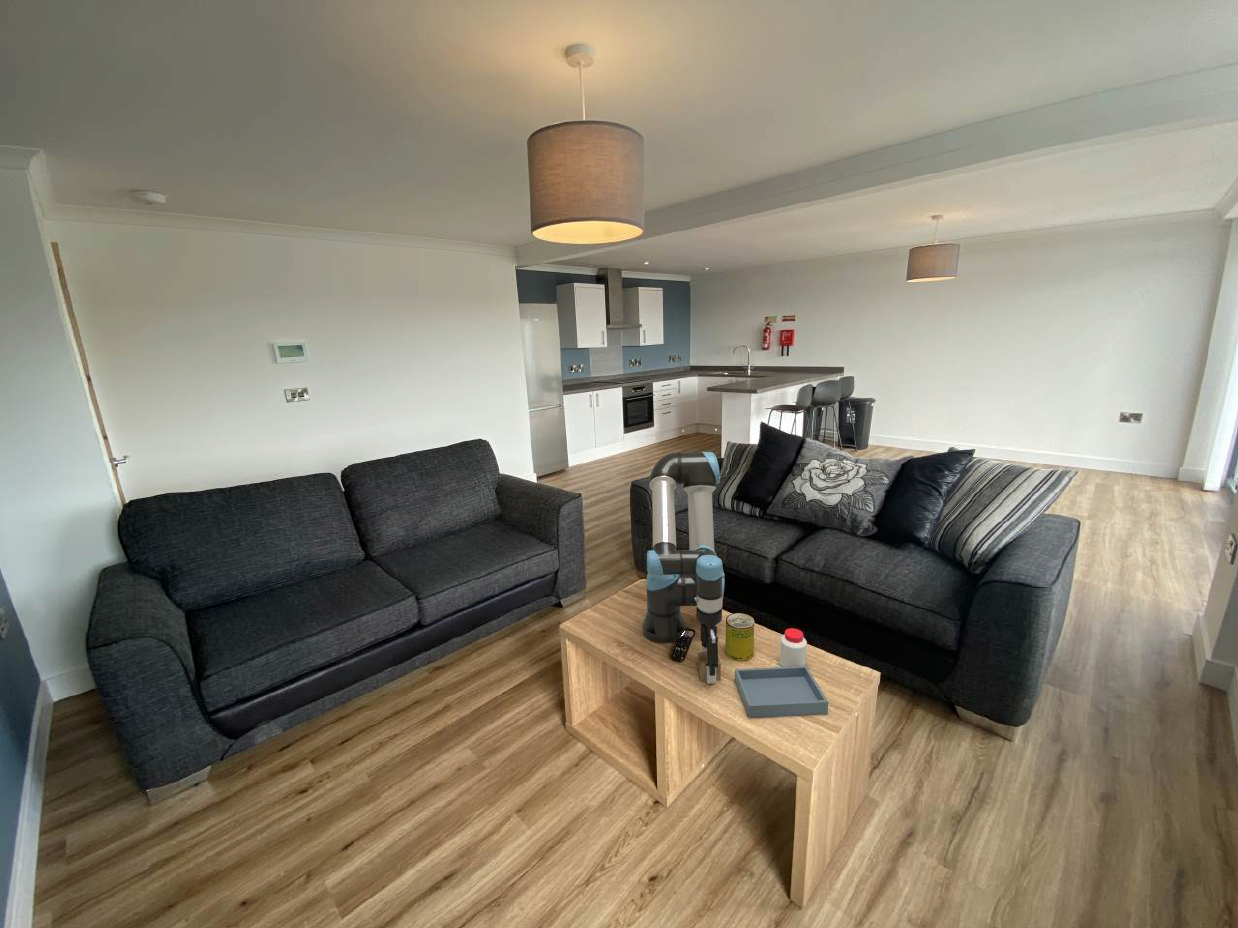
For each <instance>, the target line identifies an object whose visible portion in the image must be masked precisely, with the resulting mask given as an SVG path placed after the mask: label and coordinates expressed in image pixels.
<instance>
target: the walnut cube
mask: <svg viewBox="0 0 1238 928" xmlns="http://www.w3.org/2000/svg"><path fill="white" fill-rule="evenodd" d="M696 655H697V657H696V659H697V660H696V661H697V663H696V666H697V672H698V677H699V681H700V682H706V683H707V666H706V665H705V664H706V663H708V658H707V652H702V651H700V652H697V654H696ZM721 676H722V663H721V660H720V658H719V656H718V668H716V682H721V681H722V680H721V678H722V677H721Z"/></svg>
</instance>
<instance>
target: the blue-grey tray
mask: <svg viewBox="0 0 1238 928" xmlns="http://www.w3.org/2000/svg"><path fill="white" fill-rule="evenodd" d="M734 683H735V685H736V688H737V691H738V693H739V696H740V698H741V701H742V703H743V707H744V709H745V711H746V714H747V717H748V719H754V718H755V719H756V718H773V717H792V716H812V715H813V716H815V715H828V714H829V701H828V698H827V697H826V696H825V694H824V692H823V690H822V689H821V687H820V686H819V684H818V683H817V681H816V679H815V678H814V676H813V674H812V673H811V671H810V670H809V668H808V666H807V665H806V666H792V667H782V666H779V667H777V666H776V667H773V666H772V667H757V668H739V669H737V668H736V669H734Z"/></svg>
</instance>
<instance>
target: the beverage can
mask: <svg viewBox="0 0 1238 928" xmlns="http://www.w3.org/2000/svg"><path fill="white" fill-rule="evenodd" d="M724 643H725V651H724V653H725V656H726V657H728V659H730V660H732V661H734V662H740V663H743V662H749V661H752V659H753V657H754V654H755V653H754V648H755V620H754V617H752V616H750V615H749V614H745V613H740V612H736V613H735V612H734V613H730V614H728V615H727V616H726V617H725V641H724Z"/></svg>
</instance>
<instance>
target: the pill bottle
mask: <svg viewBox="0 0 1238 928" xmlns="http://www.w3.org/2000/svg"><path fill="white" fill-rule="evenodd" d="M779 645H780V646H779V647H780V649H779V665H780V667H792V666H807V665H806V662H807V648H808V647H807V646H808V641H807V639H806V638H805V637H804V633H803V631H801V630H800V629H797V628H793V627H792V628H787V629H785V631H784V634H782V636H781V637H780V644H779Z"/></svg>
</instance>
